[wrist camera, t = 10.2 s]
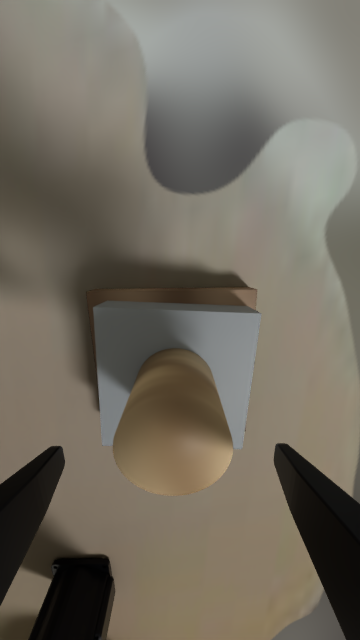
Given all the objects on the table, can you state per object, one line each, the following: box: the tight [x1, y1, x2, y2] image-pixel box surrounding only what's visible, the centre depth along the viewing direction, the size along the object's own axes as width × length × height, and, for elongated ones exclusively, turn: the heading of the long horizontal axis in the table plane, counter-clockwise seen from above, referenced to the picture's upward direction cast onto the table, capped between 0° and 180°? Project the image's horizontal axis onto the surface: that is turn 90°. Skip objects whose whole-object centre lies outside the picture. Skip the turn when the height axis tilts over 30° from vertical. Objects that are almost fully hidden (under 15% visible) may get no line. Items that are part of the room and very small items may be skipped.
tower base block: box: [86, 287, 257, 431], centre depth 17 cm, size 12×12×2 cm
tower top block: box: [93, 301, 261, 449], centre depth 15 cm, size 10×10×2 cm
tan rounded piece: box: [113, 348, 233, 496], centre depth 11 cm, size 5×5×5 cm
